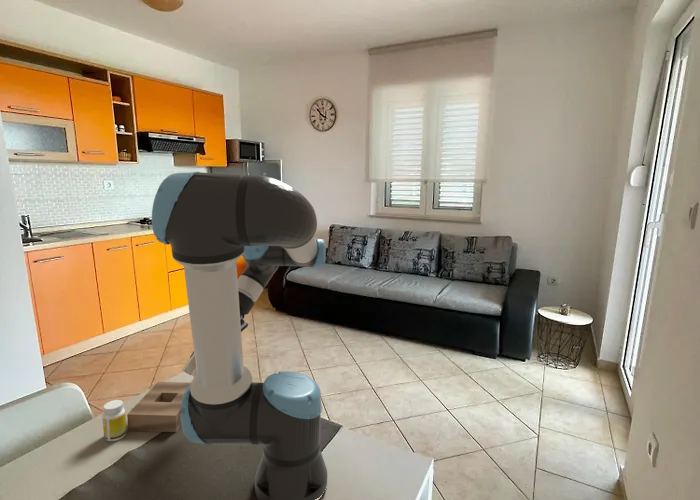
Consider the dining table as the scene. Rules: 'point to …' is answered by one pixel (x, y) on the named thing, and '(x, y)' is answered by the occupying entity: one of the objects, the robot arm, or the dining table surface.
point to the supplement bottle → (114, 421)
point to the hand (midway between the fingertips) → (190, 375)
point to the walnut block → (159, 408)
